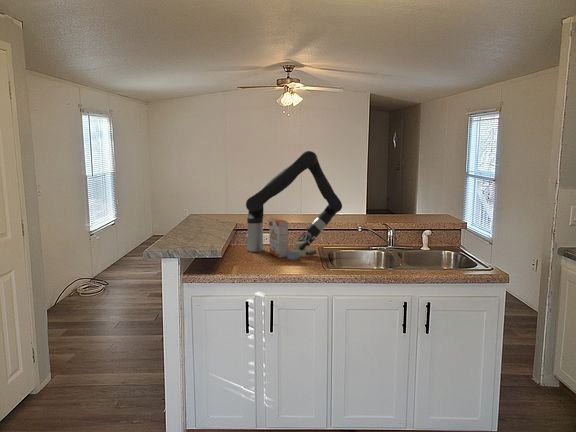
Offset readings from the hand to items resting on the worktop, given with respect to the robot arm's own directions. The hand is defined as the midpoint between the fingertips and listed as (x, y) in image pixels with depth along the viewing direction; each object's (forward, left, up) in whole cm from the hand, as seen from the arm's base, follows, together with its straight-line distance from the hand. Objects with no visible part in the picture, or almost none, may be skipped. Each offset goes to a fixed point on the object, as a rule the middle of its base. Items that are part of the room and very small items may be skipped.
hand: (297, 248), depth 279 cm
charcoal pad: (-1, +10, -5) cm, 11 cm away
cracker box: (-10, -5, -5) cm, 12 cm away
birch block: (+1, +1, -5) cm, 5 cm away
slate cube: (+1, -6, -5) cm, 8 cm away
